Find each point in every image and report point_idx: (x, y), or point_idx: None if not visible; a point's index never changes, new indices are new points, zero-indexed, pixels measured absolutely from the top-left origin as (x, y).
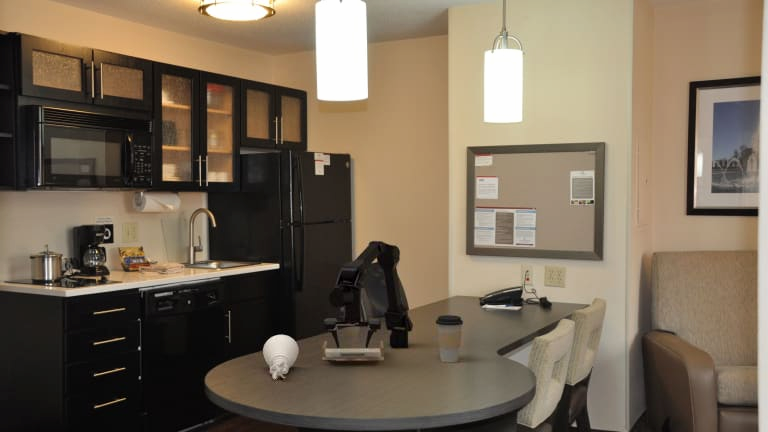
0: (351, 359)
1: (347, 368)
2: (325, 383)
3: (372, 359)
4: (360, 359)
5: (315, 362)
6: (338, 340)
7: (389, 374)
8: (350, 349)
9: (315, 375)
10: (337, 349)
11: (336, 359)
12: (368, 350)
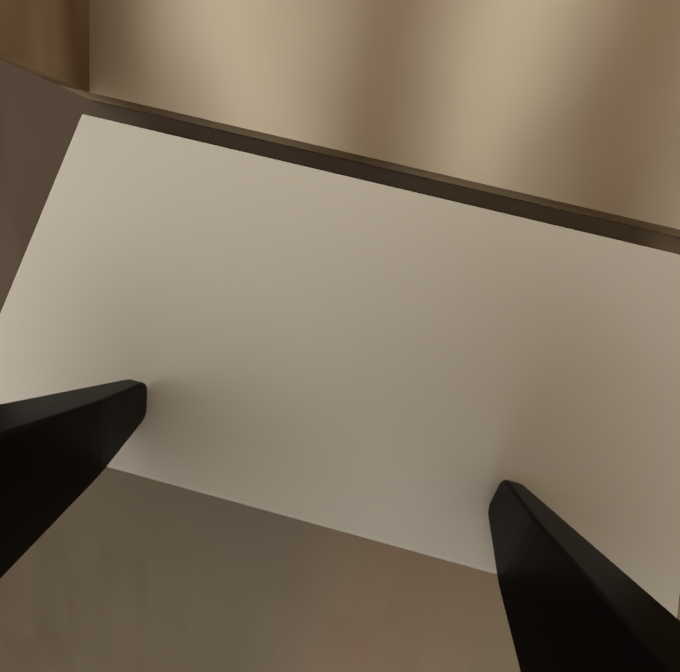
0: (375, 165)
1: None
2: (134, 669)
3: (599, 216)
4: (470, 186)
5: (35, 167)
6: (8, 539)
7: None
8: (275, 508)
9: (74, 533)
10: (114, 463)
11: (221, 128)
12: None
